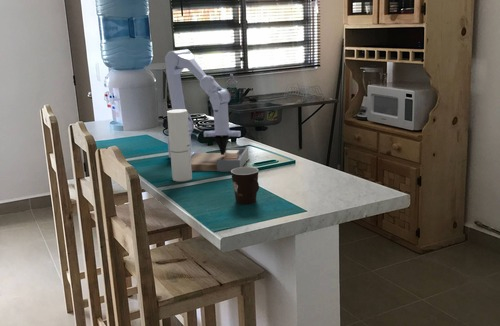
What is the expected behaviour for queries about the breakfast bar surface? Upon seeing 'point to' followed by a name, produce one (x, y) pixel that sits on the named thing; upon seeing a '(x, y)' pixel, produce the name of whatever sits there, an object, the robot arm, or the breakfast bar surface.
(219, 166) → the box
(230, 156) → the terracotta tile
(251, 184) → the coffee mug
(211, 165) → the walnut board
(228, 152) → the cream tile
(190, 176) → the cylindrical container
